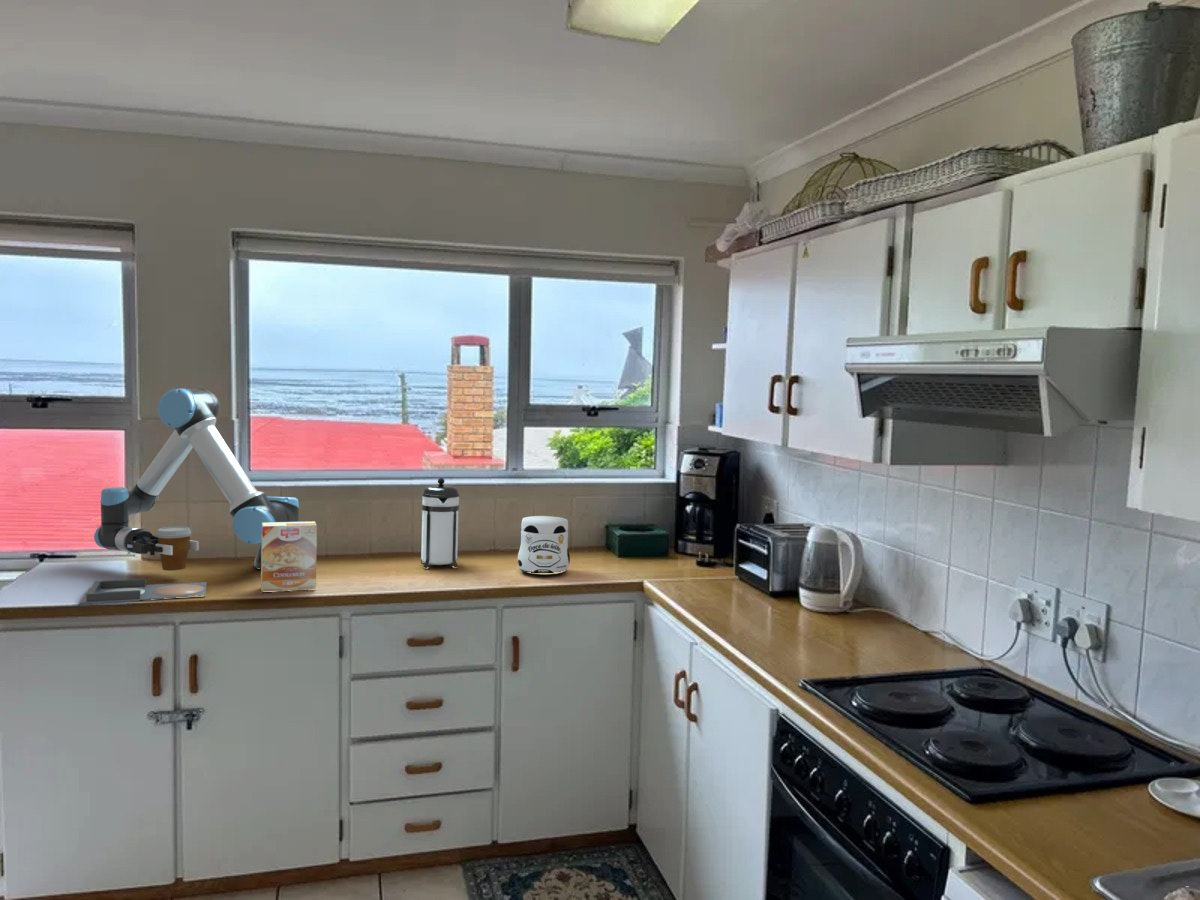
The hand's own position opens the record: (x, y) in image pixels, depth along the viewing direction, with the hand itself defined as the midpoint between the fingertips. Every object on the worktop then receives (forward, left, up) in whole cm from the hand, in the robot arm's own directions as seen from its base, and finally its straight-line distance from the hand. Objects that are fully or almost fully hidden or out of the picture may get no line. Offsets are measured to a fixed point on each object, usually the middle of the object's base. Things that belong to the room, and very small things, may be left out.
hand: (184, 548), depth 252 cm
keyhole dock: (+9, +13, -10) cm, 19 cm away
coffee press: (-77, -6, -10) cm, 78 cm away
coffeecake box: (-28, +17, -10) cm, 35 cm away
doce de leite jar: (-108, +14, -10) cm, 110 cm away
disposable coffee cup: (+3, -4, -7) cm, 8 cm away
